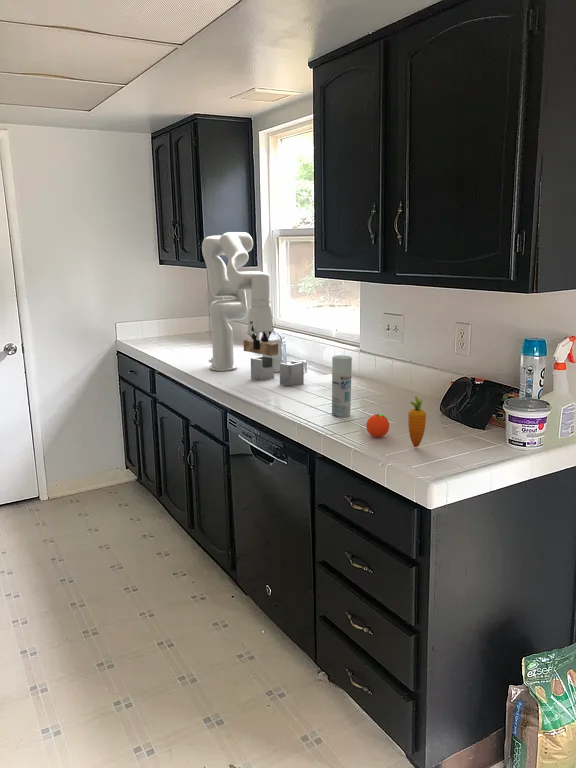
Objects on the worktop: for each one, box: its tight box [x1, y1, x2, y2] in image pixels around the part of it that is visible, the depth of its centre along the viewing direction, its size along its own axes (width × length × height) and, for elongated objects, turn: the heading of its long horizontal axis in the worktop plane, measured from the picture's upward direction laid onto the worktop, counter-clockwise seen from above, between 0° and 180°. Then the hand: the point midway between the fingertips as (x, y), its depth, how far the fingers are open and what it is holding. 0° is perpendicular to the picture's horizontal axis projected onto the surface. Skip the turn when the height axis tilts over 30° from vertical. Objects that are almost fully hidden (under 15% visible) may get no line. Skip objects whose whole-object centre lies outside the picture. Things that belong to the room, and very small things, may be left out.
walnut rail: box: [243, 338, 278, 356], centre depth 264 cm, size 16×4×4 cm, turn 47°
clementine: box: [365, 413, 392, 438], centre depth 195 cm, size 8×7×7 cm
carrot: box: [407, 395, 427, 448], centre depth 184 cm, size 5×5×15 cm
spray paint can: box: [331, 354, 353, 418], centre depth 218 cm, size 6×6×20 cm
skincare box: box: [262, 337, 283, 373], centre depth 293 cm, size 8×6×15 cm
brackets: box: [250, 355, 305, 388], centre depth 272 cm, size 23×8×9 cm, turn 47°
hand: (260, 348), depth 264 cm, fingers closed on walnut rail, 4 cm apart
